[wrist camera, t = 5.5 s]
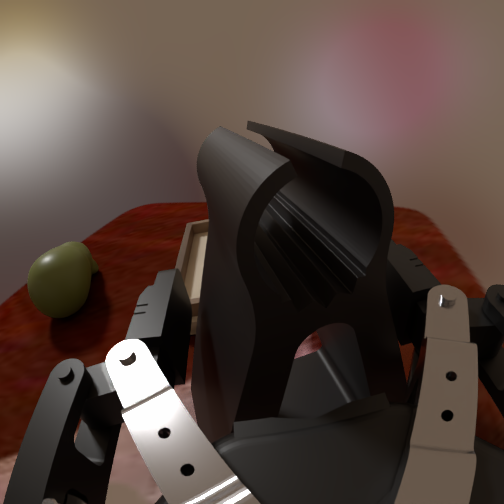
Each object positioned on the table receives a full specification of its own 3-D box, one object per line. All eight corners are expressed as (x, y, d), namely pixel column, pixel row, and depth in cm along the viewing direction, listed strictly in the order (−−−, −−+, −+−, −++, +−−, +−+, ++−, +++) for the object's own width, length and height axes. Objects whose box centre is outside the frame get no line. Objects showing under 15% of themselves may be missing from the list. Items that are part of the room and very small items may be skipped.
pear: (7, 275, 18) (48, 240, 27) (36, 336, 20) (66, 286, 29) (64, 254, 19) (94, 223, 28) (92, 320, 20) (111, 272, 30)
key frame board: (167, 337, 19) (156, 313, 18) (187, 240, 30) (182, 222, 29) (327, 312, 18) (326, 287, 18) (290, 223, 30) (288, 203, 29)
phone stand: (353, 341, 16) (354, 107, 10) (410, 423, 11) (488, 136, 5) (193, 392, 15) (99, 158, 9) (215, 496, 10) (27, 234, 4)
